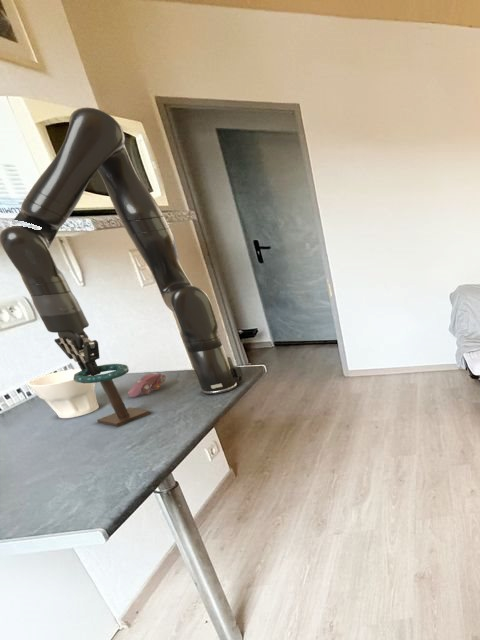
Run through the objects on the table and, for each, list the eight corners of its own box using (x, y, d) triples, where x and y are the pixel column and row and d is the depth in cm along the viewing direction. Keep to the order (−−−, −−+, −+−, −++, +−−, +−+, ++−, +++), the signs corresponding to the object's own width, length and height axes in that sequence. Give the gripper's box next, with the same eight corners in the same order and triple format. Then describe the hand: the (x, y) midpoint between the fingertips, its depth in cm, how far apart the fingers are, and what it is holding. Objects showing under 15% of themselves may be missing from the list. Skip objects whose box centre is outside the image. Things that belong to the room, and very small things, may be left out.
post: (131, 410, 121) (111, 369, 115) (150, 413, 119) (130, 371, 113) (98, 422, 114) (75, 379, 109) (117, 426, 112) (95, 383, 106)
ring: (112, 367, 117) (110, 361, 116) (139, 371, 114) (136, 365, 113) (65, 381, 108) (62, 375, 107) (93, 386, 105) (89, 379, 104)
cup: (94, 417, 117) (75, 381, 113) (37, 425, 113) (14, 388, 109) (116, 399, 128) (99, 366, 123) (64, 406, 124) (45, 372, 119)
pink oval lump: (141, 402, 129) (143, 384, 126) (126, 396, 128) (127, 378, 126) (167, 389, 138) (169, 372, 135) (153, 384, 137) (154, 366, 135)
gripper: (96, 309, 106) (125, 371, 113) (62, 306, 110) (92, 367, 117) (58, 316, 100) (92, 382, 107) (23, 312, 103) (58, 376, 111)
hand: (92, 374), depth 112 cm, fingers closed on ring, 2 cm apart
